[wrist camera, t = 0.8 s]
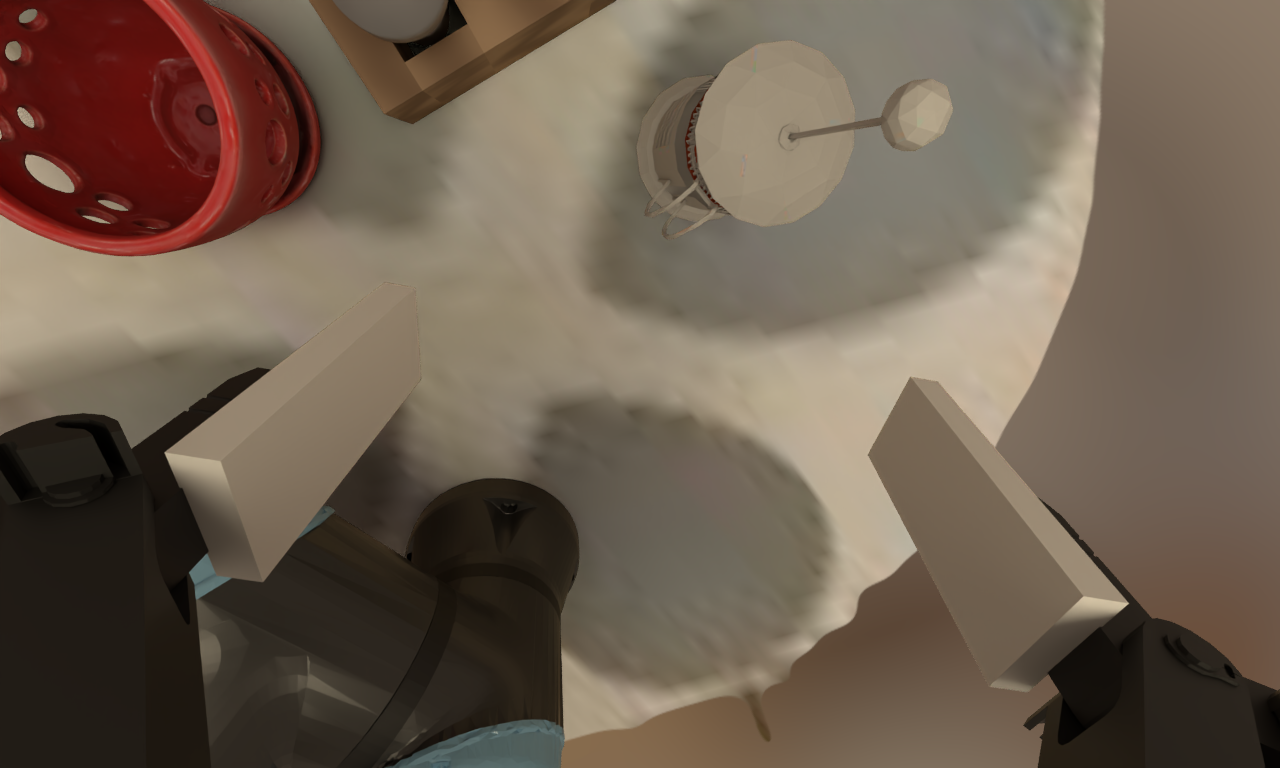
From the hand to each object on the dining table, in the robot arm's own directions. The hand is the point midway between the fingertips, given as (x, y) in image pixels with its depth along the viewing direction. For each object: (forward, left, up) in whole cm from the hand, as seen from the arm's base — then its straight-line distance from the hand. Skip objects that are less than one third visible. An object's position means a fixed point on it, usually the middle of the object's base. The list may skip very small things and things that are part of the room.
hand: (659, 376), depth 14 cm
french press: (+9, +2, -27) cm, 29 cm away
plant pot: (-17, +18, -27) cm, 37 cm away
